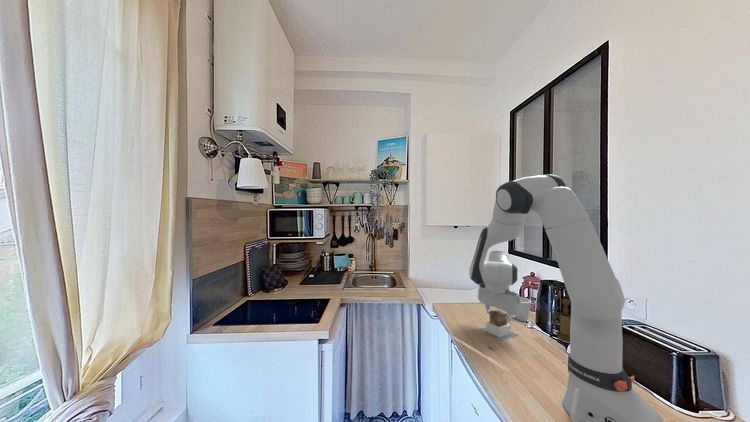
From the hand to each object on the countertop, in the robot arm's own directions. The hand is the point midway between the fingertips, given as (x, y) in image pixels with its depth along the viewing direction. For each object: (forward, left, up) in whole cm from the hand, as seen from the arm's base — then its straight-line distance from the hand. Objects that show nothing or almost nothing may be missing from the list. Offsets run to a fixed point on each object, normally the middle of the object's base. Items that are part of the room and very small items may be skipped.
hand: (498, 317), depth 119 cm
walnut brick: (0, 0, -3) cm, 3 cm away
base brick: (0, 0, -7) cm, 7 cm away
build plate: (0, 0, -8) cm, 8 cm away
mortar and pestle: (-16, -22, -8) cm, 28 cm away
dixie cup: (+7, -26, -8) cm, 28 cm away
